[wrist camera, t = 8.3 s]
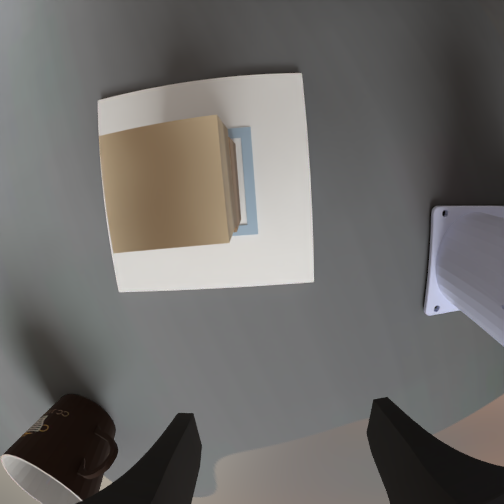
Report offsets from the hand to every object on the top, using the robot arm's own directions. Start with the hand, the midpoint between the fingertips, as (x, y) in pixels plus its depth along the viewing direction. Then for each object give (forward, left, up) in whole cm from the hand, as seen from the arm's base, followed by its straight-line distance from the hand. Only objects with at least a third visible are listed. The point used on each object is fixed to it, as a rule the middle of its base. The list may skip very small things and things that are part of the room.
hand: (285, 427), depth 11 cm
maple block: (+4, -9, -6) cm, 12 cm away
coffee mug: (+17, +11, -11) cm, 23 cm away
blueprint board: (+4, -9, -10) cm, 14 cm away
